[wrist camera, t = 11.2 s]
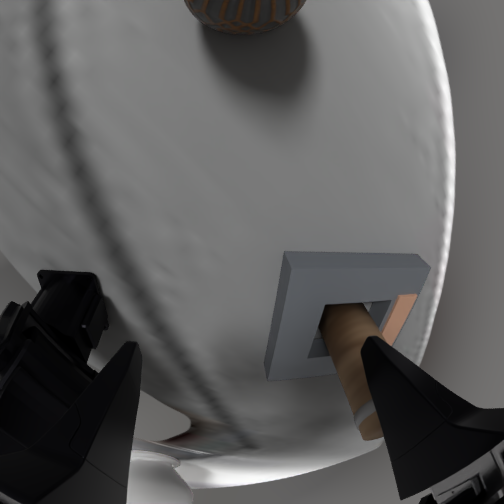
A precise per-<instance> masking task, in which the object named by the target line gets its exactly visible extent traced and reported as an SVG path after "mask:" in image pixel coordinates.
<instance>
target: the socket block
mask: <svg viewBox="0 0 504 504" xmlns="http://www.w3.org/2000/svg"><path fill="white" fill-rule="evenodd" d="M430 269H431V267H430V266H429V265H428V264H427V263H426V262H425V261H424V260H423V259H422V258H421V257H420V256H419V255H418V254H390V253H340V252H289V251H284V255H283V261H282V267H281V273H280V279H279V285H278V291H277V296H276V302H275V307H274V313H273V318H272V324H271V329H270V334H269V340H268V345H267V350H266V355H265V360H264V366H265V371H266V376H267V381H277V380H288V379H299V378H308V377H316V376H324V375H331V374H337V371H336V368H335V366H334V363H333V361H332V358H331V356H330V354H329V351H328V349H327V346H326V344H325V341H324V339H314V337H315V334H316V331H317V328H318V325H319V322H320V319H321V316H322V313H323V310H324V307H325V304H343V303H359V302H373V304H372V306H371V309H370V311H369V314H370V316H371V317H372V319H373V320H374V322H375V324H376V325H377V327H378V329H379V330H380V332H381V334H382V335H383V337H384V339H385V340H386V342H387V343H388V344H389V345H390V346H393V344H394V343H395V341H396V339H397V337H398V336H399V334H400V332H401V330H402V328H403V326H404V324H405V322H406V321H407V319H408V317H409V315H410V313H411V311H412V309H413V307H414V305H415V303H416V300H417V298H418V296H419V294H420V292H421V290H422V287H423V285H424V283H425V281H426V278H427V276H428V274H429V271H430Z"/></svg>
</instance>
